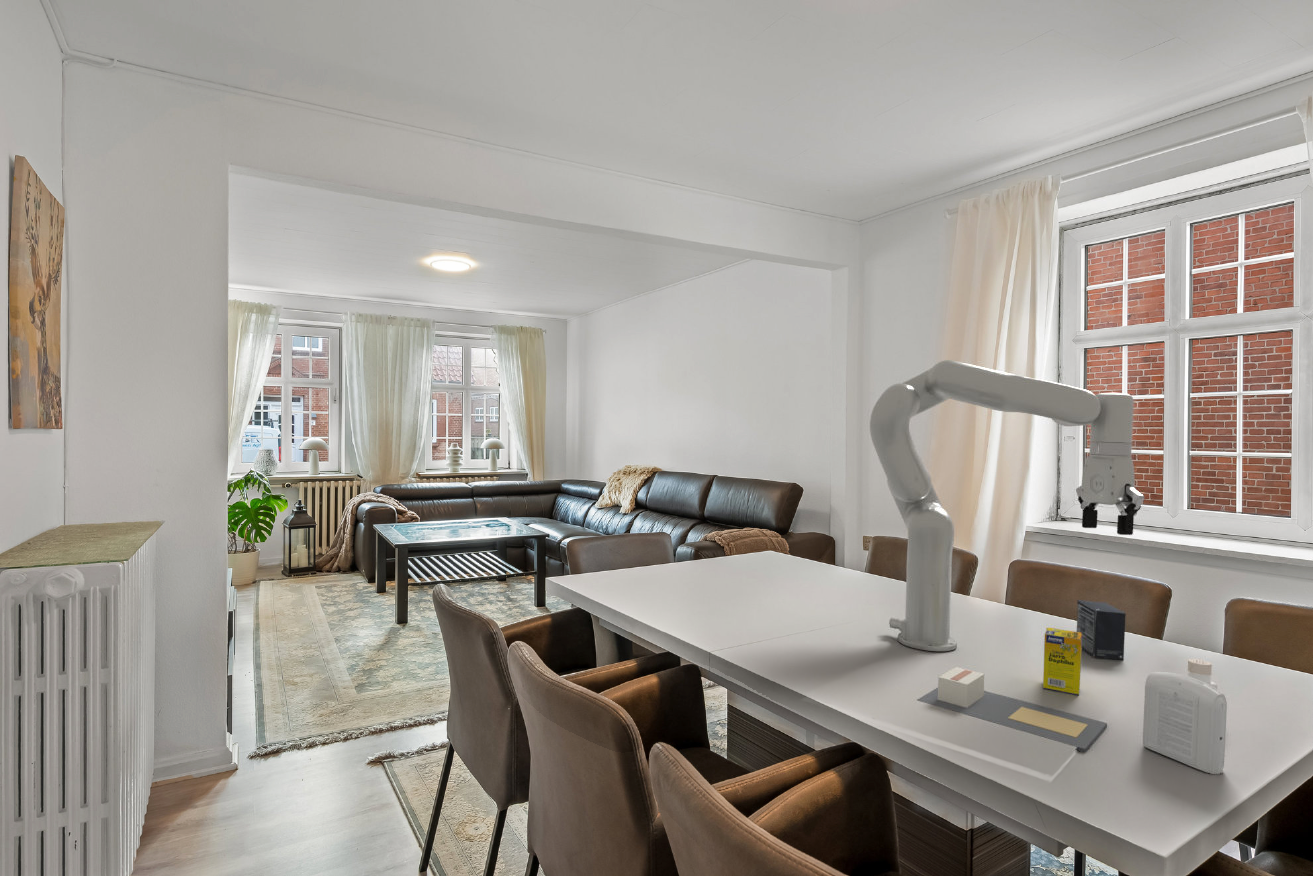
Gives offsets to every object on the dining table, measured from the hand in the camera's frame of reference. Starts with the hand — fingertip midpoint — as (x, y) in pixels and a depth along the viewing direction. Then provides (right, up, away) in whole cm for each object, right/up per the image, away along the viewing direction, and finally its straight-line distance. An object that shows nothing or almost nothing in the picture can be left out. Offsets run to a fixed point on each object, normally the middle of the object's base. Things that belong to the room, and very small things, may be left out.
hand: (1106, 531), depth 150 cm
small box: (+3, -28, +7) cm, 29 cm away
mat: (-36, -27, -30) cm, 55 cm away
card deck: (-42, -27, -25) cm, 55 cm away
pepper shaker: (-3, -28, -29) cm, 41 cm away
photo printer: (-18, -28, -46) cm, 57 cm away
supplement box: (-20, -28, -18) cm, 39 cm away
